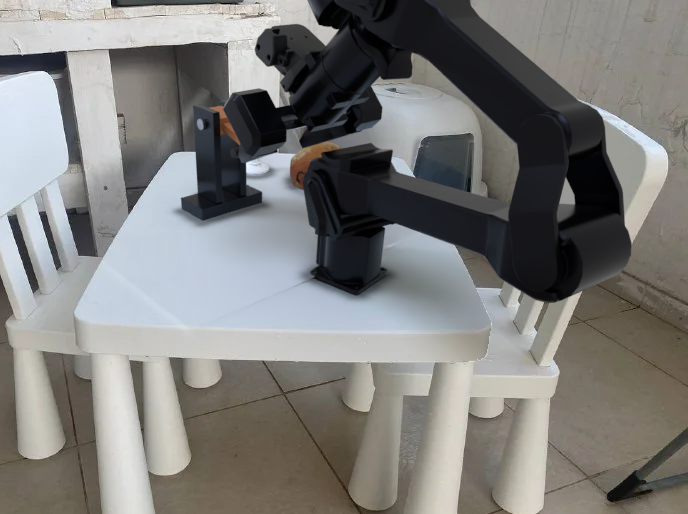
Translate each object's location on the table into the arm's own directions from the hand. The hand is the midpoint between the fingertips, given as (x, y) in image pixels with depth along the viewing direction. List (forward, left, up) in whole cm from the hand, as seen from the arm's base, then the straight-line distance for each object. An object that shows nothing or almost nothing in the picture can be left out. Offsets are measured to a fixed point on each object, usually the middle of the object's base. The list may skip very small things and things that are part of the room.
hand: (272, 151), depth 72 cm
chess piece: (+17, -15, -11) cm, 25 cm away
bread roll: (+6, -18, -11) cm, 22 cm away
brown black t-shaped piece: (+8, -1, -1) cm, 8 cm away
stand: (+10, -2, -11) cm, 15 cm away
